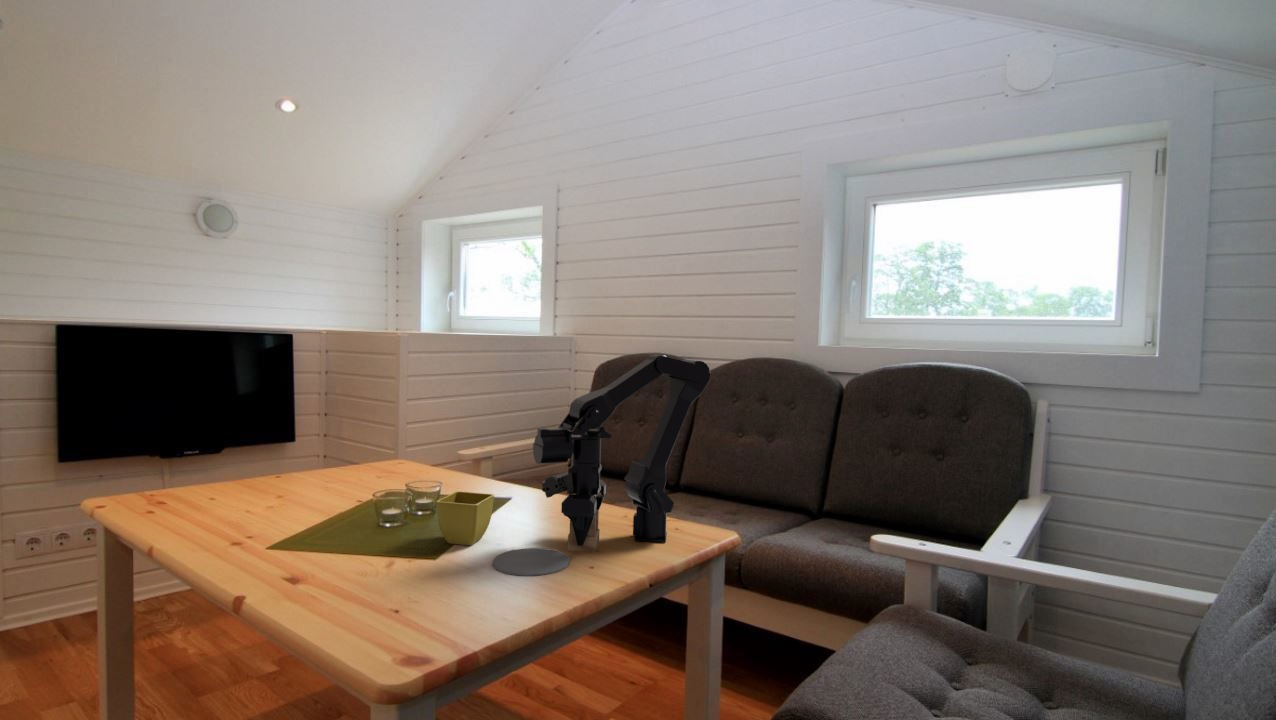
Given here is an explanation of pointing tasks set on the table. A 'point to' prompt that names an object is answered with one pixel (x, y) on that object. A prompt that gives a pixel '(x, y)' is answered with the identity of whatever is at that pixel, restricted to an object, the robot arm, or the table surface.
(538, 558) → the mat
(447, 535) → the flower pot
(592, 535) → the stool
